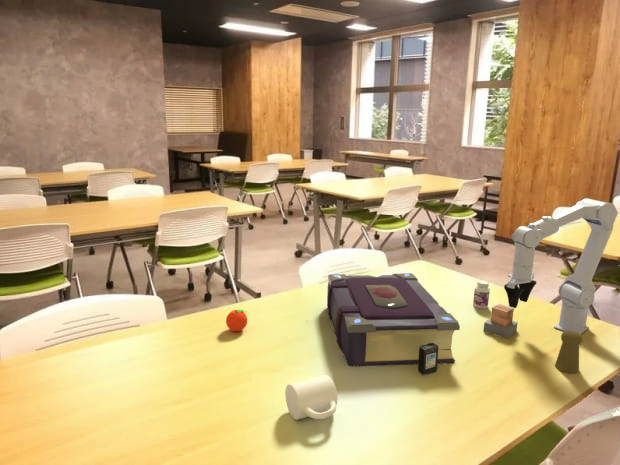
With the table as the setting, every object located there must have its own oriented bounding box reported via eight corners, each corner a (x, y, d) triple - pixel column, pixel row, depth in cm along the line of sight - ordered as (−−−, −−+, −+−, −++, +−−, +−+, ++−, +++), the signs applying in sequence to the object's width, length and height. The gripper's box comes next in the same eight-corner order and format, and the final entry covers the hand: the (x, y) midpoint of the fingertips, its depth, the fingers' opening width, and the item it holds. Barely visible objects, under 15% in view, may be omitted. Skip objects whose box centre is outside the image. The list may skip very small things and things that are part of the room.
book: (342, 368, 130) (344, 322, 126) (323, 306, 173) (323, 270, 170) (456, 364, 133) (461, 319, 130) (409, 304, 176) (411, 269, 173)
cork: (582, 375, 128) (588, 338, 125) (558, 372, 129) (564, 336, 126) (574, 364, 133) (580, 329, 131) (552, 361, 135) (557, 326, 132)
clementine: (246, 323, 157) (246, 304, 155) (253, 332, 151) (253, 311, 149) (223, 328, 153) (223, 308, 152) (229, 336, 147) (229, 315, 146)
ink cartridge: (423, 376, 126) (424, 349, 124) (417, 372, 128) (419, 345, 126) (437, 371, 128) (438, 345, 126) (431, 367, 130) (433, 342, 128)
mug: (284, 408, 111) (285, 378, 109) (321, 397, 116) (322, 368, 114) (307, 437, 101) (307, 405, 99) (346, 425, 105) (347, 394, 103)
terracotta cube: (497, 317, 157) (499, 303, 156) (512, 322, 154) (513, 308, 152) (490, 321, 154) (492, 307, 153) (505, 326, 150) (506, 312, 149)
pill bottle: (471, 306, 174) (473, 282, 172) (474, 302, 178) (477, 278, 176) (486, 310, 171) (489, 285, 169) (489, 305, 176) (491, 281, 173)
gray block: (492, 324, 160) (493, 315, 159) (516, 331, 155) (517, 322, 154) (483, 332, 154) (484, 322, 153) (507, 339, 149) (509, 329, 148)
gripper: (520, 257, 155) (516, 295, 158) (500, 265, 145) (495, 306, 148) (542, 262, 150) (537, 301, 153) (522, 271, 140) (517, 312, 143)
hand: (518, 304), depth 150 cm, fingers open, 7 cm apart
